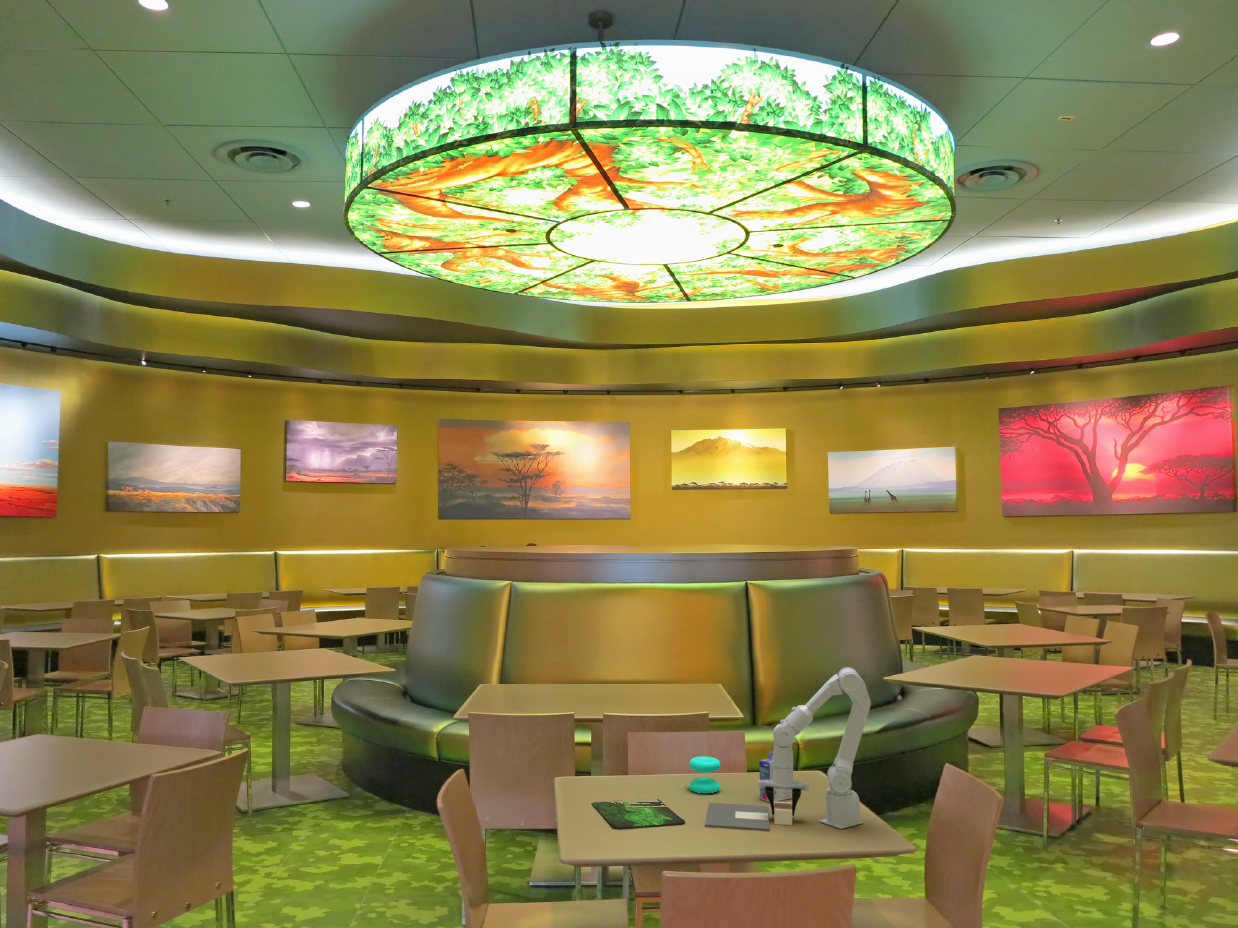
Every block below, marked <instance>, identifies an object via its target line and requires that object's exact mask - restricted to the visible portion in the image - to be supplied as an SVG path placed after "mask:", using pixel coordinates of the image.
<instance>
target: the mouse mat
mask: <svg viewBox="0 0 1238 928" xmlns="http://www.w3.org/2000/svg"><path fill="white" fill-rule="evenodd" d="M656 799H657V800H658V801H660V802H637V803H640V804H628V802H623V804H621V803H618V802H615V803H616V804H615V803H611V802H607V801H595V802H592V803H591V804H590V805H591V807H593V809H595V811H596V812H597V813H598V814H599V815H600V816H601V818H603V819H604V821H606V823H608V824H609V825H610V827H611V828H613V829H615V830H629V829H640V828H641V829H642V828H655V827H666V826H676V825H677V826H678V825H680V826H681V825H683V824H685V823H686V820H685V819H684V818H682V817H681V816H679V815H678V814H677V813H675V812H674V811H673V810H672V809H670V808H669V807H668V806H667V807H651V806H661V805H664V806H666V805H665V804H664V803H663V801H661V800H660V799H659V798H656ZM641 803H650V804H641ZM661 803H663V804H661ZM626 806H631V807H626ZM632 806H645V807H632ZM646 806H650V807H646Z"/></svg>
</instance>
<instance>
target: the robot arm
mask: <svg viewBox="0 0 1238 928" xmlns="http://www.w3.org/2000/svg"><path fill="white" fill-rule="evenodd" d="M842 691H843V692H844V693H845V694H846V695H848V697H849V698H850V701H851V702H852V705H851V710H850V712H849V715H848V719H847V723H846V726H845V729H844V732H843V735H842V739H841V741H840V746H839V749H838V752H837V754H836V757H835V758H834V759H833V760H834V761H833V764H832V765H831V766H830V767H829V768H828V769H827V773H826V778H827V780H828V784H829V785H828V787H827V788H826V800H825V801H826V818H822V819H820V820H819V822H820V823H821V824H825V825H828V826H831V827H834V828H837V829H841V830H842V829H846V828H850V827H854V826H857V825H861V824H863V821H861V820H860V819H861V818H860V817H861V816H860V815H861V813H860V812H861V811H860V810H861V808H860V807H861V805H860V804H861V803H860V797H859V795H858V793H857V792H856V791H854V790H853V789H852V784H853V782H852V773H853V767H854V761H855V758H856V755H857V751H858V749H859V745H860V742H861V738H862V735H863V732H864V729H865V726H866V721H867V719H868V715H869V712H870V709H871V705H872V702H871V698H870V695H869V693H868V692H869V691H868V689H867V685H866V683H865V681H864V680H863V679H862V677H861V675H860V674H859V673H858V672H857V670H855V668H852V667H847V666H846V667H843V668H841V669H840V670H839V671H838V673H835V674H834V675H833V676H831V677H830V678H829V679H828V680H827V681H826V682H825V683H824V684H823V685H822V687H820V688H819V689H818V691H817V692H816V693H815V694H814V695H813V696H812V697H811V698H810V699H809V700H808V701H807V703H805V705H804V704H801V705H800V704H799V705H797V706H793V707H792V708H791V712H790V713H789V714H788V715H787V716H786V717H785V718H781V720H780V721H779V722H780V723H778V724H777V725H776V726H774V728H773V730H772V736H773V740H774V741H773V742H774V743H773V750H772V751H773V753H772V756H773V780H760V779H757V788H758V789H760V788H765V792H766V795H767V797H768V799H769V802H770V803H769V802H768V803H769V805H770V809H771V815H772V816H774V788H775V789H792V798H791V805H792V817H794V816H795V812H796V811H795V810H796V807H797V805H798V802H799V800H800V797H801V795H802V791H805V792H809V782H803V781H798V780H797V781H796V780H794V750H793V743H794V740H795V737H796V736H798V735H799V734H800V733H802V731H804V729H805V728H807V726H808V725H809V724H811V723H812V721H813V720H814V716H813V715H814V713H815V712H816V711H817V710H818V709H820V708H821V707H822V706H823V705H824V704H825V703H826V702H827V701H829V700H830V698H832V697H833V696H841V695H843V692H842Z"/></svg>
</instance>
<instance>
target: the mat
mask: <svg viewBox="0 0 1238 928" xmlns="http://www.w3.org/2000/svg"><path fill="white" fill-rule="evenodd" d="M769 807H770V806H768V805H754V804H737V803H721V802H709V803H708V807H707V813H706V818H705V822H704V827H705V828H715V827H720V829H730V830H731V829H732V830H733V829H735V830H748V831H749V830H750V831H763V832H769V831H770V808H769Z"/></svg>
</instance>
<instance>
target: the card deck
mask: <svg viewBox="0 0 1238 928" xmlns="http://www.w3.org/2000/svg"><path fill="white" fill-rule="evenodd" d="M773 819H774V821H773V823H774V825H784V826H793V816H792V801H789V802H787V801H774V815H773Z"/></svg>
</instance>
